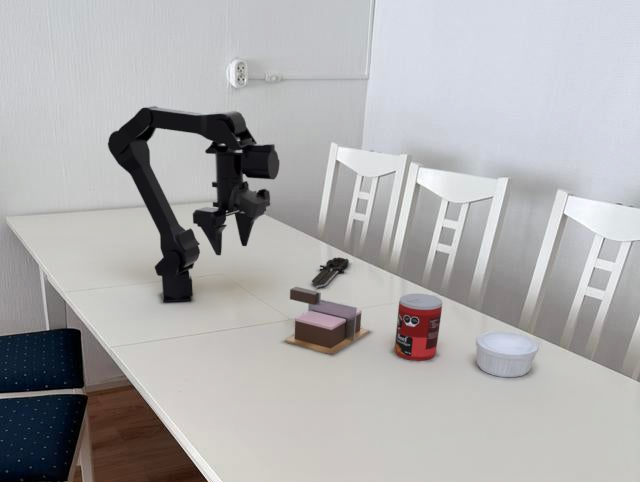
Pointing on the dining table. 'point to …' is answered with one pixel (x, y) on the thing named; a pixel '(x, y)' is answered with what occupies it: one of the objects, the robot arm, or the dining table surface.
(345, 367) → the dining table surface
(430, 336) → the canned food
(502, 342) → the ramekin
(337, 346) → the cake board
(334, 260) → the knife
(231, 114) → the robot arm
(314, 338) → the cake
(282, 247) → the dining table surface
